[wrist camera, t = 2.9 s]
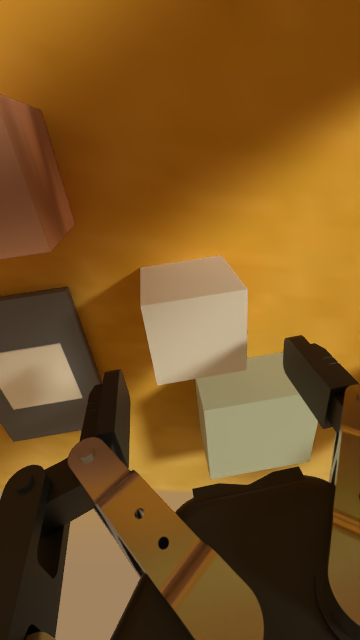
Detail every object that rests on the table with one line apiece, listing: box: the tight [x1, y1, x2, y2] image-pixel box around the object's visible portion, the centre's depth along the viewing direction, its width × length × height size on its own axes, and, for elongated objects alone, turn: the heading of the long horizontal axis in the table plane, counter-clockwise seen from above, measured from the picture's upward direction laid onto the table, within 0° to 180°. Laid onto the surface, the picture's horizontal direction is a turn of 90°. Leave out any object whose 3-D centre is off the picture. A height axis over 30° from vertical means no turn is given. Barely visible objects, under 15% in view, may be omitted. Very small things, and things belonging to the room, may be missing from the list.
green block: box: [195, 352, 318, 480], centre depth 22 cm, size 8×8×4 cm
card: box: [0, 287, 102, 442], centre depth 20 cm, size 12×8×1 cm, turn 7°
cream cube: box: [140, 255, 248, 385], centre depth 16 cm, size 5×5×5 cm
